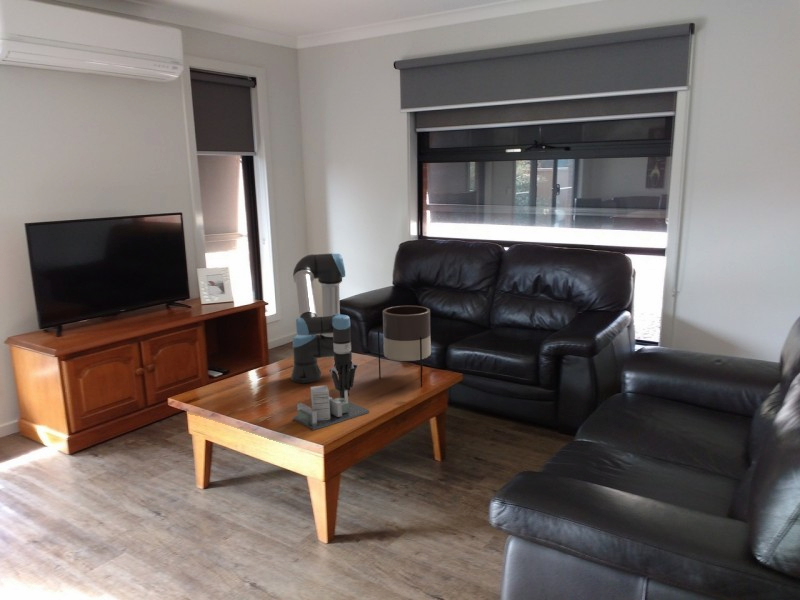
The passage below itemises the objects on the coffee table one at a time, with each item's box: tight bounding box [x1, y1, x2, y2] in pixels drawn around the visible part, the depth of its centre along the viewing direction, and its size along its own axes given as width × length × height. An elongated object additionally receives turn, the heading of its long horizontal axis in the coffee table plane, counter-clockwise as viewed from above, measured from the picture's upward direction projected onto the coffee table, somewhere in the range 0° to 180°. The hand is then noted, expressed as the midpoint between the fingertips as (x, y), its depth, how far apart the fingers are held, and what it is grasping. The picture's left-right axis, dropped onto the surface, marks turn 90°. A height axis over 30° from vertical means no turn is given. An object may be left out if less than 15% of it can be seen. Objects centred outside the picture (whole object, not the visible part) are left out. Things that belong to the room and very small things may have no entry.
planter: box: [377, 305, 432, 388], centre depth 299 cm, size 26×25×35 cm
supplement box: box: [310, 385, 330, 421], centre depth 251 cm, size 7×7×13 cm
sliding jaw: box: [329, 396, 349, 417], centre depth 257 cm, size 12×7×6 cm, turn 40°
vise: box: [292, 400, 370, 431], centre depth 256 cm, size 16×28×7 cm, turn 130°
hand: (345, 404), depth 260 cm, fingers closed
